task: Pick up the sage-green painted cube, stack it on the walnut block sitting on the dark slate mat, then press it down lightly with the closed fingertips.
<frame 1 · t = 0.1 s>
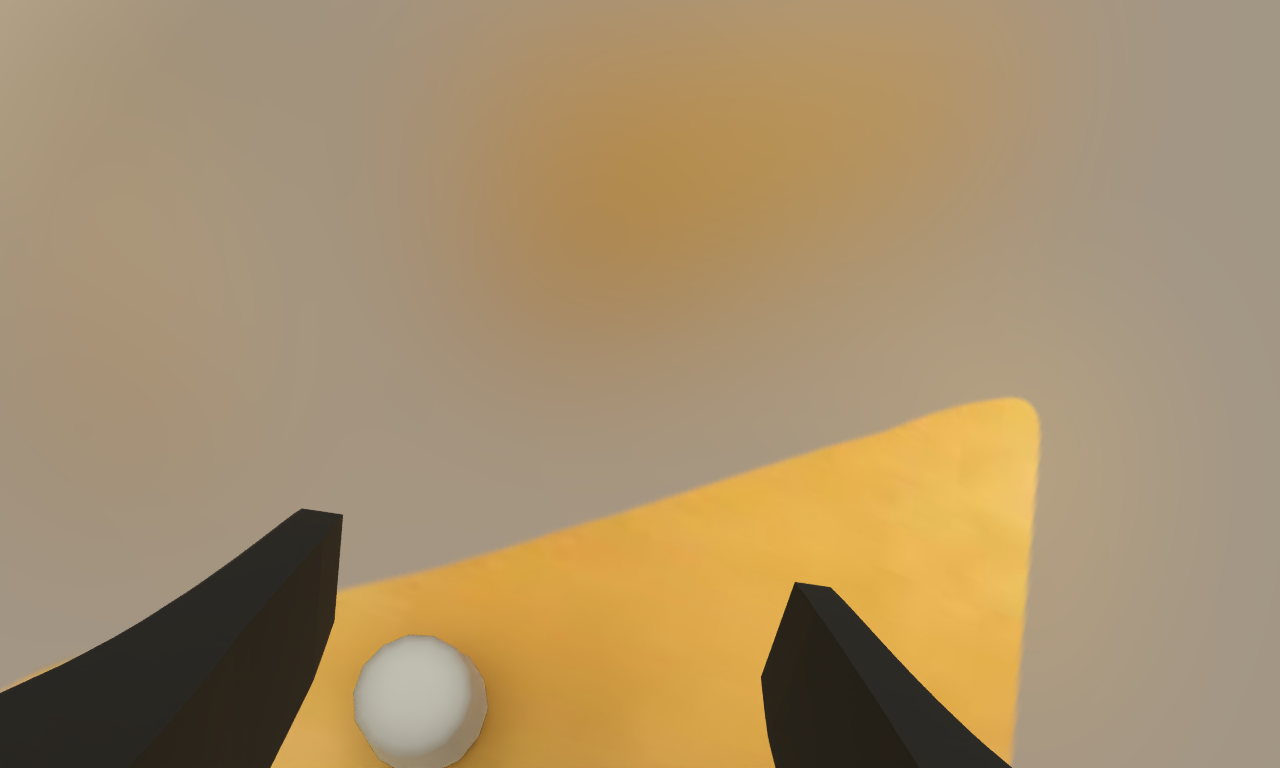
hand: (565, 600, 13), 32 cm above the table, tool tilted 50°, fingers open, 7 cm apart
salt shaker: (427, 708, 41), on the table
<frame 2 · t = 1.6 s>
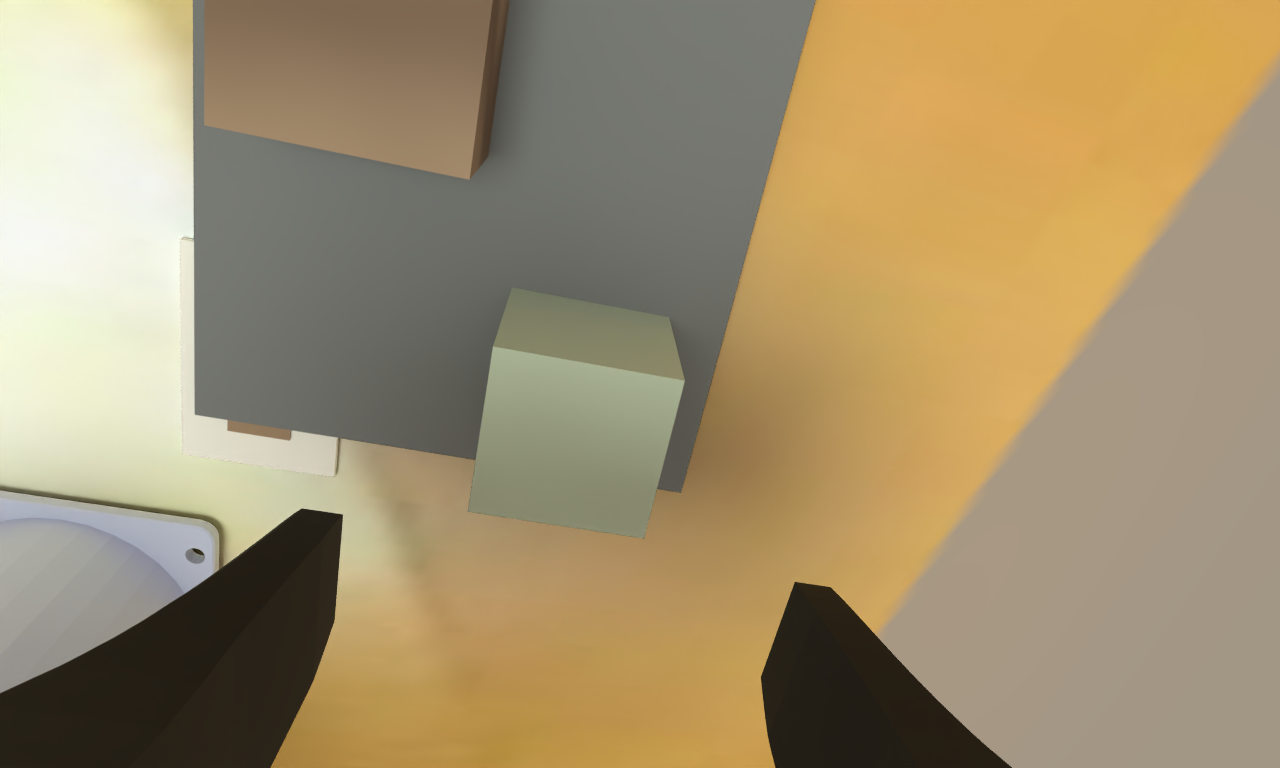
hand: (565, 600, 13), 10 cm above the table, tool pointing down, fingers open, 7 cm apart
sage block: (577, 374, 21), point 1 cm above the table, touching slate mat
instruction card: (265, 363, 21), resting in slate mat
walnut block: (387, 15, 17), point 1 cm above the table, touching slate mat
slate mat: (488, 173, 19), on the table
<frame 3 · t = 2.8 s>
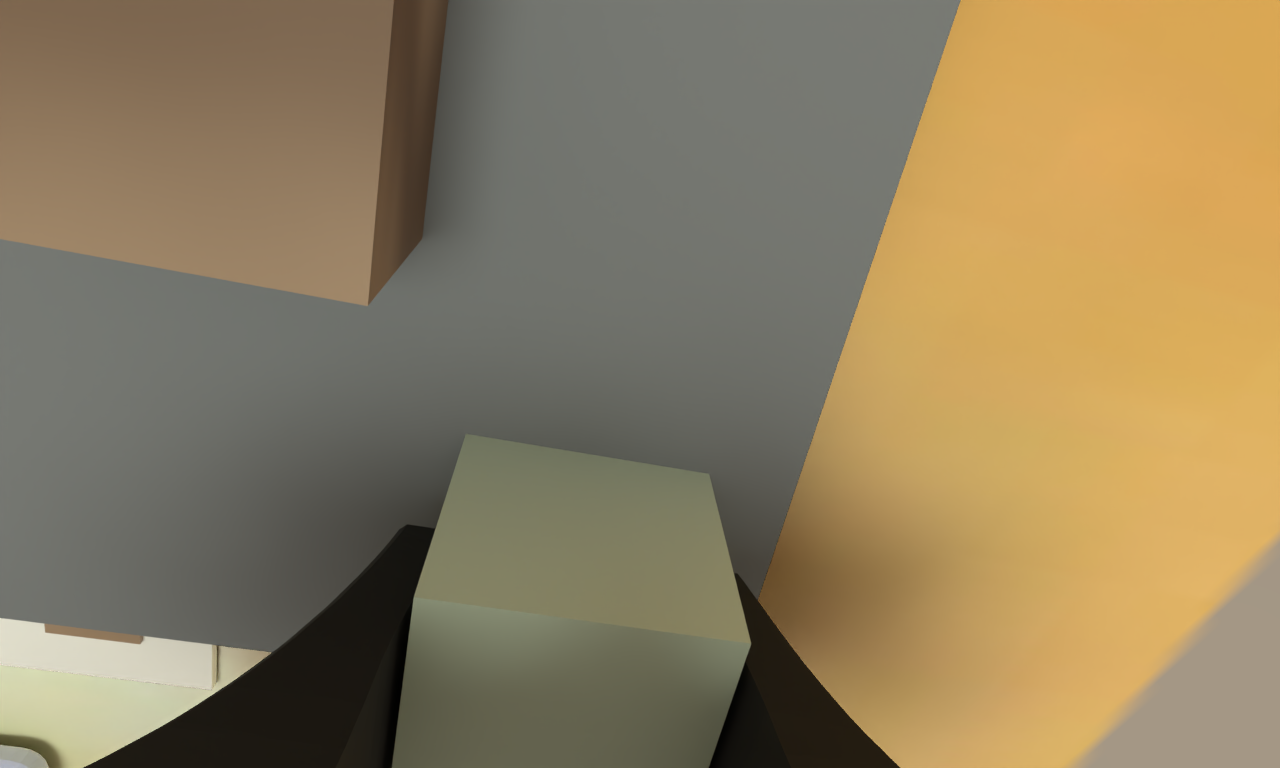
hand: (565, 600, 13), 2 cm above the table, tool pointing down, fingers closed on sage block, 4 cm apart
sage block: (568, 554, 14), point 1 cm above the table, touching gripper, slate mat
instruction card: (96, 536, 14), resting in slate mat
walnut block: (243, 9, 10), point 1 cm above the table, touching slate mat
slate mat: (426, 260, 12), on the table
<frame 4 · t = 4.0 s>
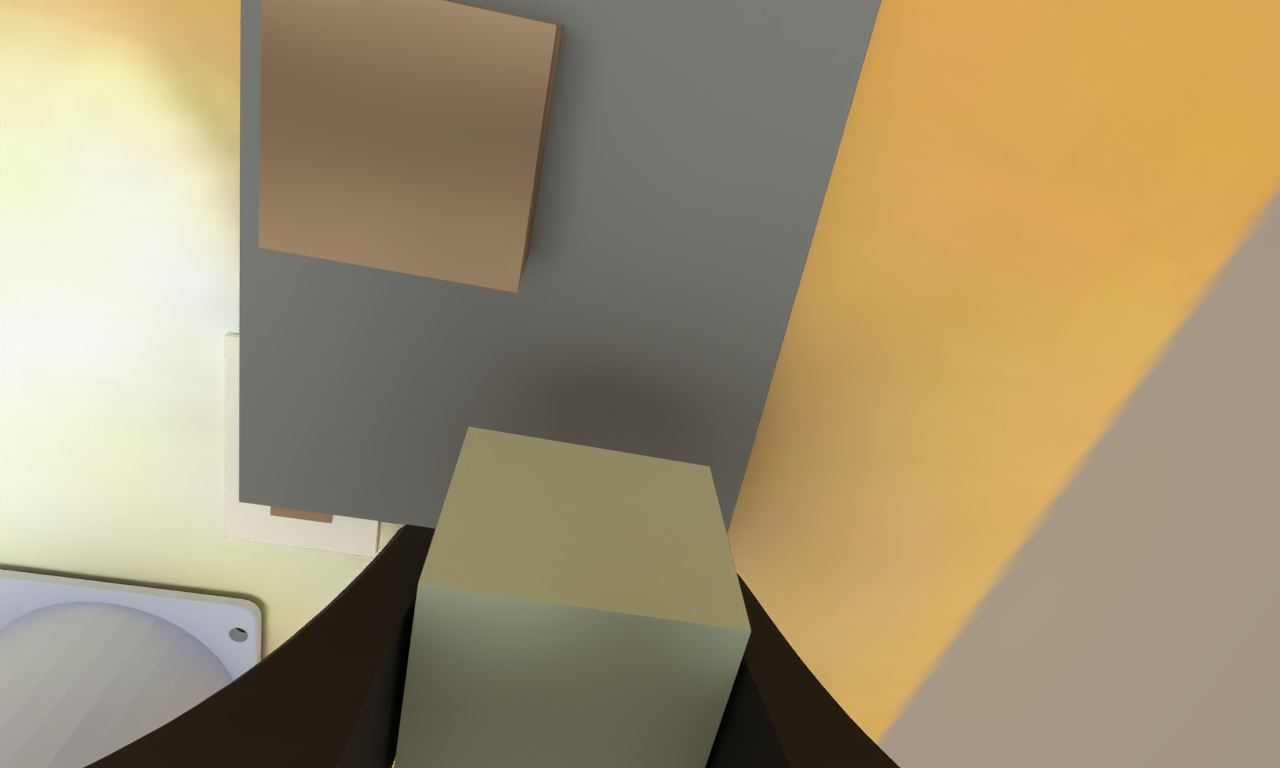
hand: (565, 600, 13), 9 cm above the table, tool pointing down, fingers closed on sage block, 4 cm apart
sage block: (569, 547, 14), point 8 cm above the table, touching gripper
instruction card: (307, 450, 21), resting in slate mat
walnut block: (431, 122, 18), point 1 cm above the table, touching slate mat
slate mat: (527, 267, 20), on the table
when the fingers open (6 cm above the table, at t = 5.4 s): sage block stays where it is, resting on walnut block.
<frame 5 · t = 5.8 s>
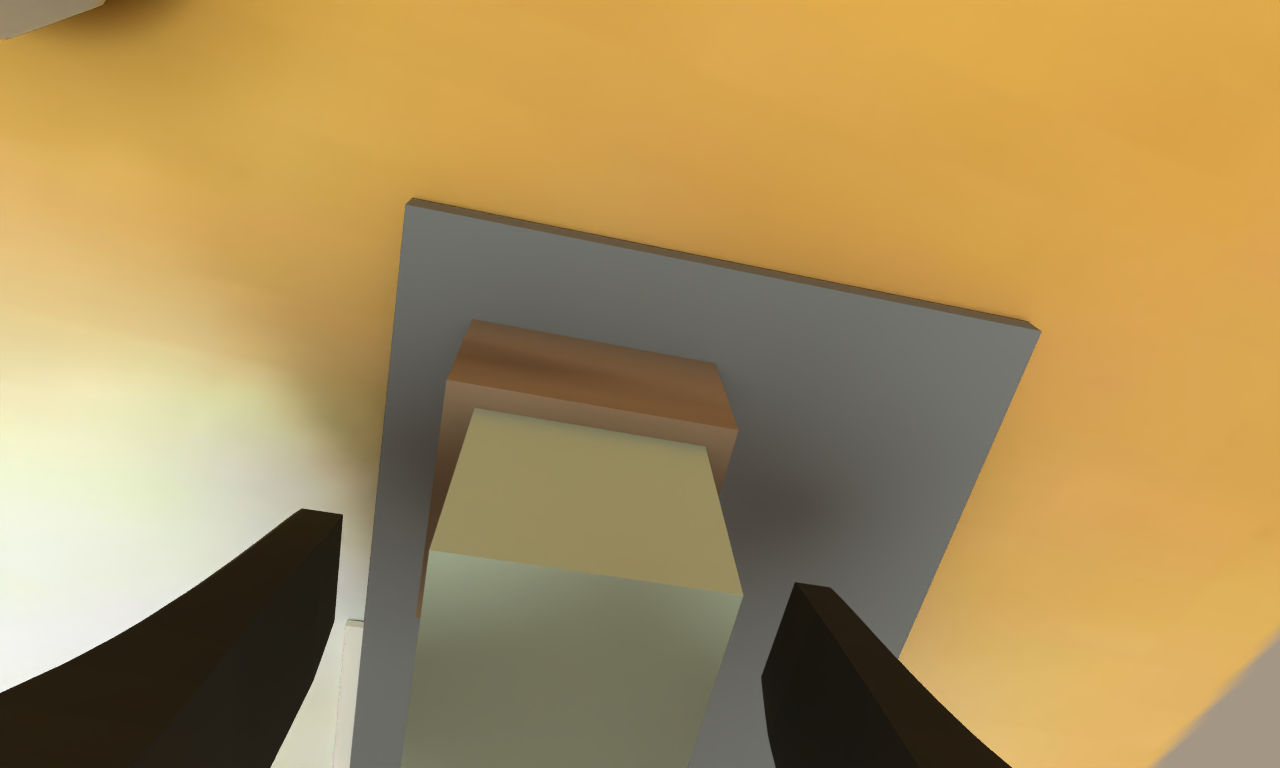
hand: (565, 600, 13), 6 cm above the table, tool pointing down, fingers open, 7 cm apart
sage block: (571, 524, 15), point 4 cm above the table, touching walnut block
instruction card: (418, 720, 21), resting in slate mat
walnut block: (574, 448, 17), point 1 cm above the table, touching sage block, slate mat
slate mat: (655, 561, 19), on the table
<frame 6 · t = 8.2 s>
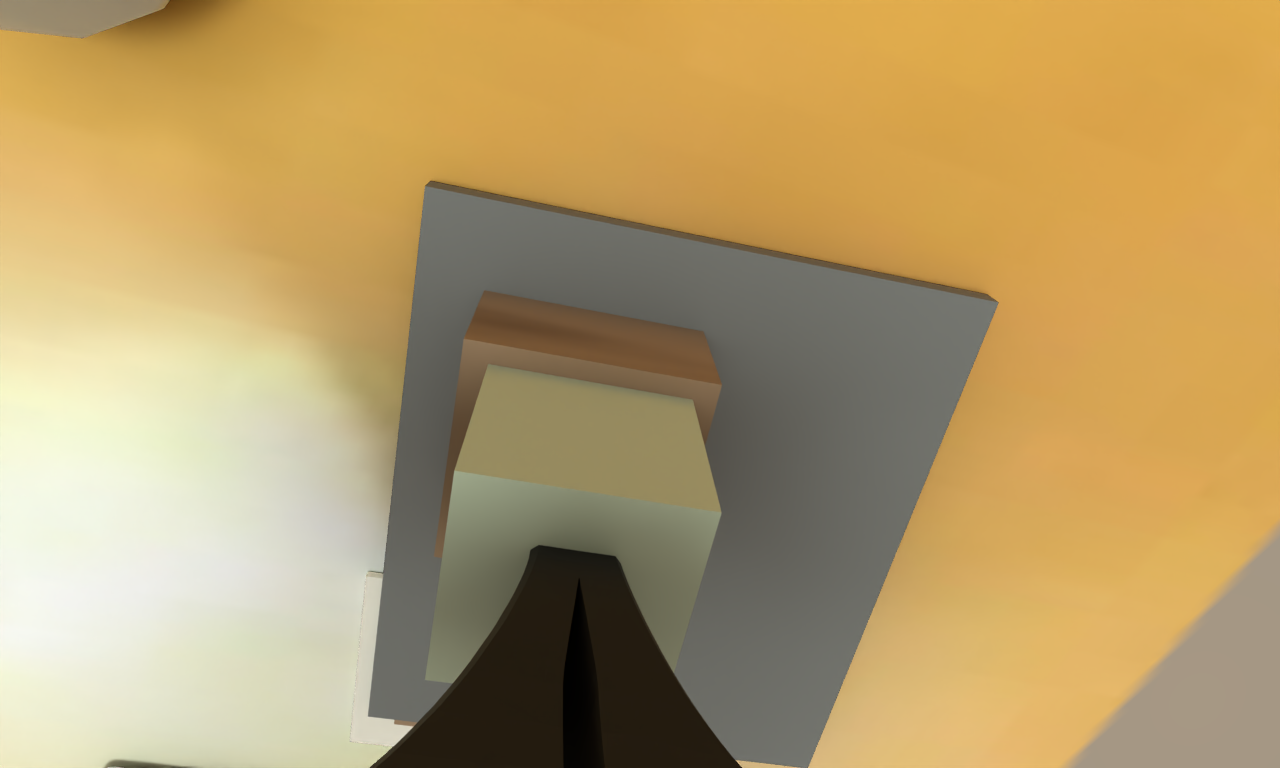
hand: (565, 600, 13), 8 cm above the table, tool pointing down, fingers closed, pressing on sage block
sage block: (573, 470, 16), point 4 cm above the table, touching gripper, walnut block
instruction card: (431, 667, 23), resting in slate mat
walnut block: (575, 409, 19), point 1 cm above the table, touching sage block, slate mat
slate mat: (649, 517, 21), on the table
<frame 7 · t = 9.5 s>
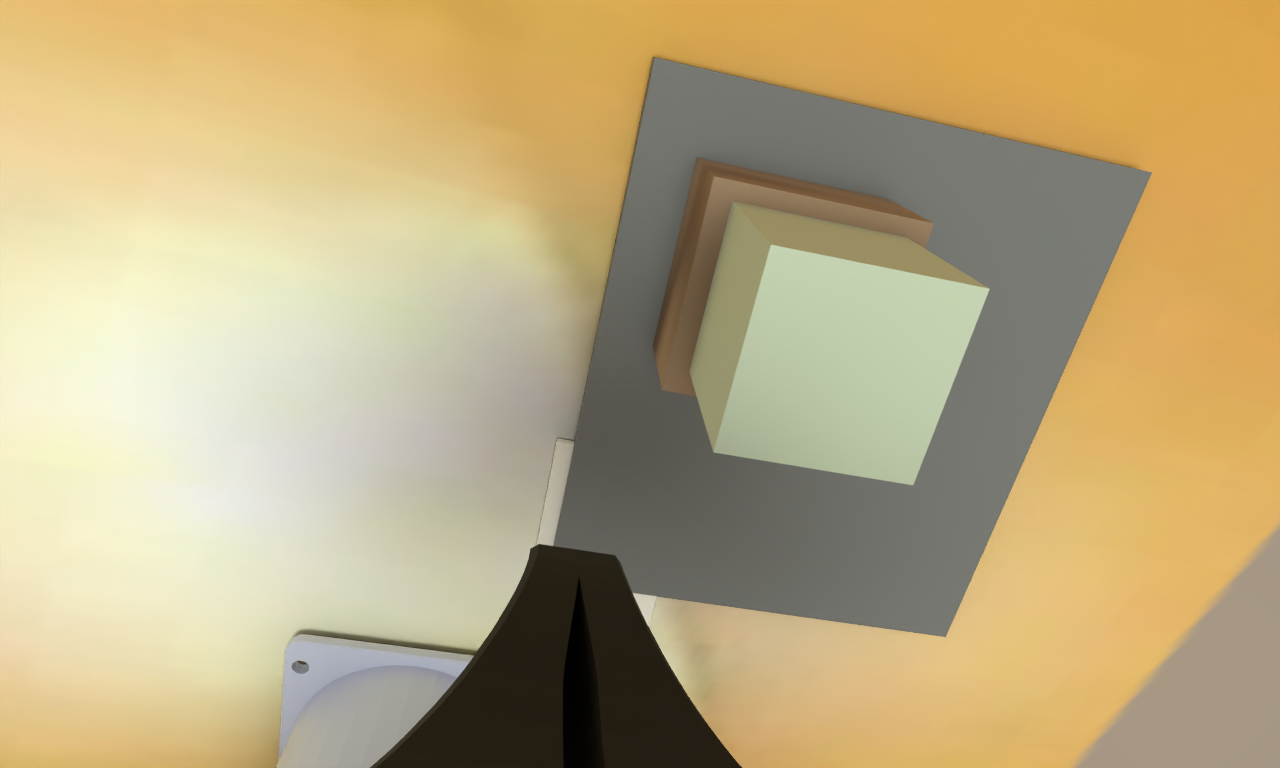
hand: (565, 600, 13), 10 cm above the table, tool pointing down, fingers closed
sage block: (795, 306, 18), point 4 cm above the table, touching walnut block
instruction card: (605, 535, 25), resting in slate mat
walnut block: (766, 274, 21), point 1 cm above the table, touching sage block, slate mat
slate mat: (818, 385, 23), on the table
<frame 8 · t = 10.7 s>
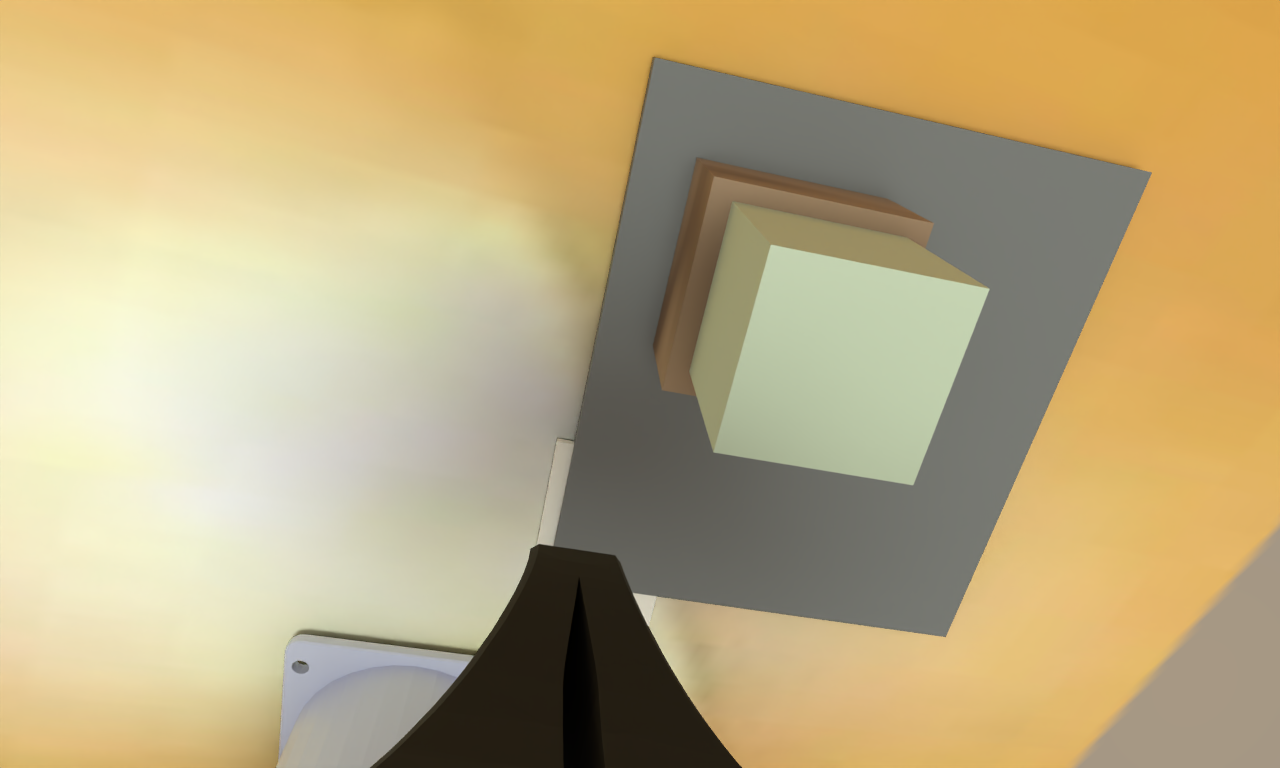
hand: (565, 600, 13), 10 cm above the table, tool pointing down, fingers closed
sage block: (795, 306, 18), point 4 cm above the table, touching walnut block
instruction card: (605, 535, 25), resting in slate mat
walnut block: (766, 274, 21), point 1 cm above the table, touching sage block, slate mat
slate mat: (818, 385, 23), on the table
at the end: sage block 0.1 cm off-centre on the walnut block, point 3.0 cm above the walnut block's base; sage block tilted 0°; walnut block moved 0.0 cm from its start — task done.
